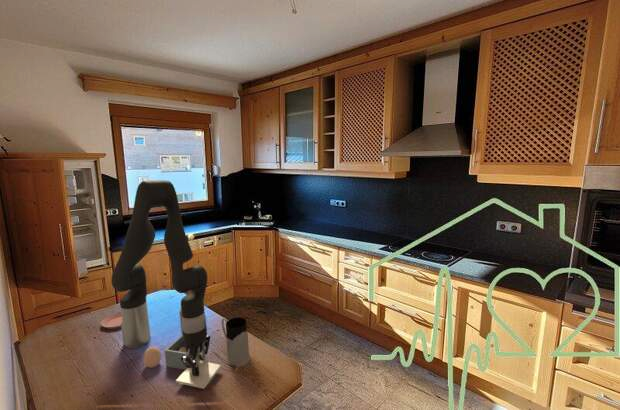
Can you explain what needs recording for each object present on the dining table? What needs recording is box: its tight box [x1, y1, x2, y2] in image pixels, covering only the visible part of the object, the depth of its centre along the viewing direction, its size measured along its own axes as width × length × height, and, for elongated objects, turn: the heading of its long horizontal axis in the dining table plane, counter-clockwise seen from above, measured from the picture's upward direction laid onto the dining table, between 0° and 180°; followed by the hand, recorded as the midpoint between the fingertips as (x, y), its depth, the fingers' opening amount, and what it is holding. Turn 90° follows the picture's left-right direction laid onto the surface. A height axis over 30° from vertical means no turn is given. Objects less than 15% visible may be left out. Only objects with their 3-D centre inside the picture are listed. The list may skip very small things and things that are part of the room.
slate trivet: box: [179, 373, 219, 390], centre depth 105 cm, size 10×7×1 cm
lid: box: [175, 359, 222, 390], centre depth 104 cm, size 10×10×5 cm
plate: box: [100, 311, 122, 330], centre depth 143 cm, size 14×14×2 cm
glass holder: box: [221, 316, 251, 368], centre depth 116 cm, size 9×14×15 cm, turn 48°
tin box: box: [164, 335, 187, 371], centre depth 114 cm, size 9×9×7 cm
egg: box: [142, 346, 162, 369], centre depth 112 cm, size 6×6×8 cm
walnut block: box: [179, 347, 186, 353], centre depth 114 cm, size 4×4×4 cm
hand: (198, 372), depth 104 cm, fingers closed on lid, 2 cm apart
